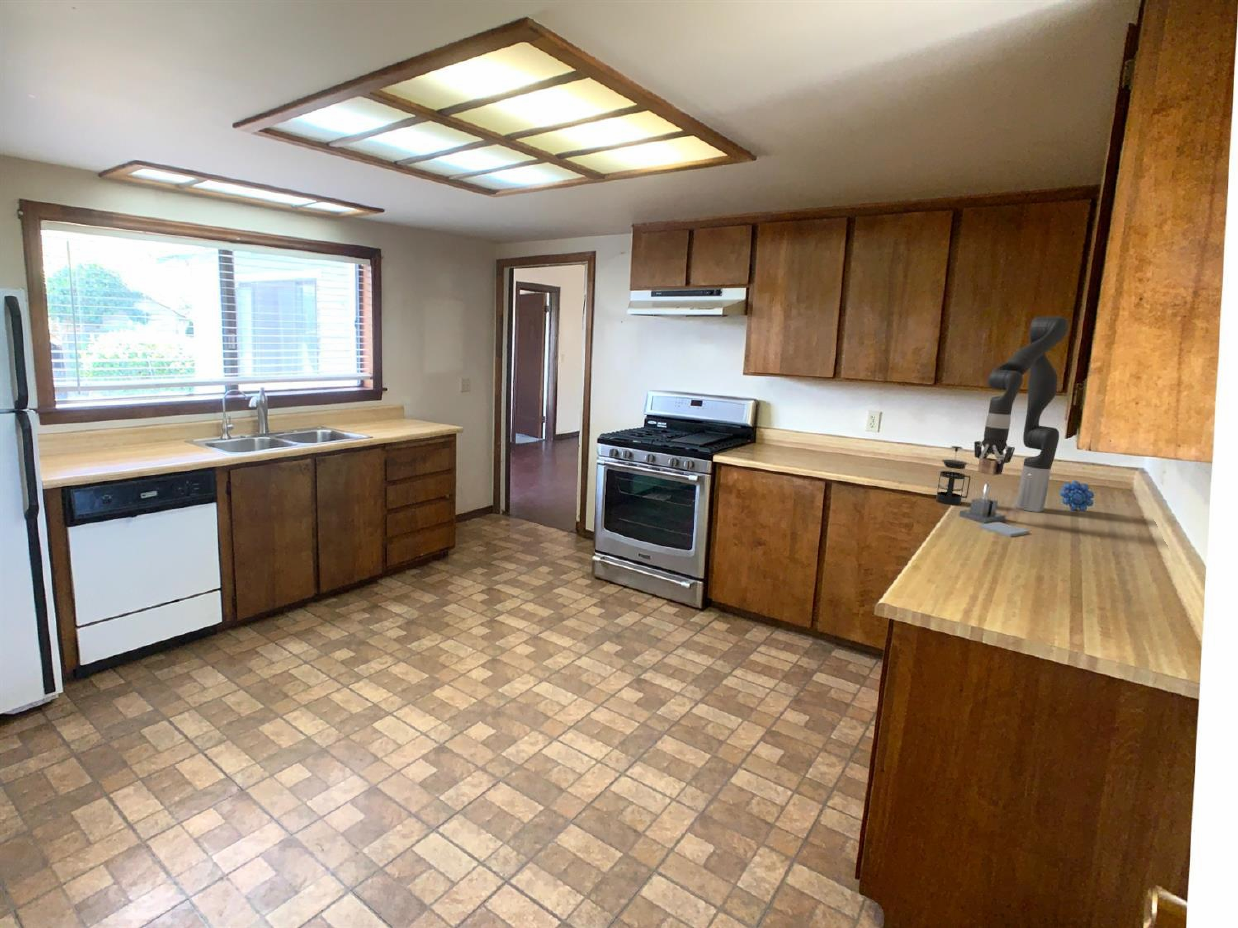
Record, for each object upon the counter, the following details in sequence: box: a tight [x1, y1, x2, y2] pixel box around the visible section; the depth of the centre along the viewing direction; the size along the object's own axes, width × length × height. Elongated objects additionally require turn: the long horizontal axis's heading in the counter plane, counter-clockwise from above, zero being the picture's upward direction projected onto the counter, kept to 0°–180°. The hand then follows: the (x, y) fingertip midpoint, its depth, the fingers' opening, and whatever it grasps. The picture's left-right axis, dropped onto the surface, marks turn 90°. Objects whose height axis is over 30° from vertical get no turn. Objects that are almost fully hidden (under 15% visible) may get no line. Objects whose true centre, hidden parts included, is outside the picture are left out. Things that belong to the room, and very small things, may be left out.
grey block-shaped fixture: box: [958, 483, 1007, 524], centre depth 235 cm, size 12×10×13 cm
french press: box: [934, 445, 971, 506], centre depth 256 cm, size 12×9×23 cm
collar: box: [977, 457, 1003, 476], centre depth 233 cm, size 6×6×5 cm
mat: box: [978, 521, 1030, 538], centre depth 222 cm, size 11×11×1 cm
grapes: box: [1059, 480, 1095, 512], centre depth 254 cm, size 12×7×12 cm, turn 61°
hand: (989, 471), depth 233 cm, fingers closed on collar, 5 cm apart
